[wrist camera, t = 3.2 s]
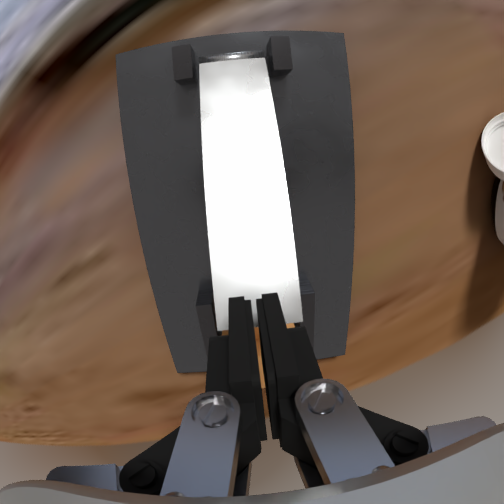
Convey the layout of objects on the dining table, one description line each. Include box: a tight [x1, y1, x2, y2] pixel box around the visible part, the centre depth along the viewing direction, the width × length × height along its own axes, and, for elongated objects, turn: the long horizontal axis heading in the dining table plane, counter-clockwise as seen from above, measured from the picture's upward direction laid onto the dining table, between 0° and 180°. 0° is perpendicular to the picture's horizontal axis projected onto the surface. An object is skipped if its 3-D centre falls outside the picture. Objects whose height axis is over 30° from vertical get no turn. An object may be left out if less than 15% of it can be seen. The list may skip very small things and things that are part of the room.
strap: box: [199, 51, 303, 331], centre depth 14 cm, size 4×14×1 cm, turn 5°
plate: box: [116, 31, 355, 373], centre depth 19 cm, size 14×24×4 cm, turn 5°
